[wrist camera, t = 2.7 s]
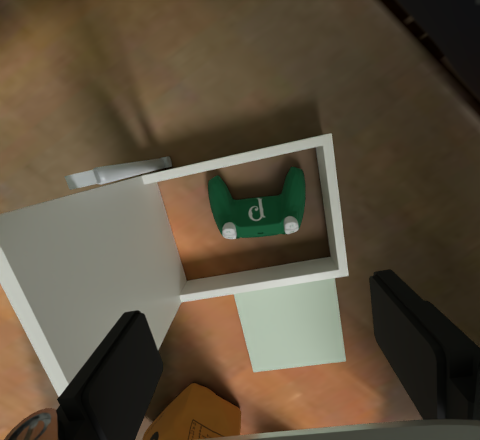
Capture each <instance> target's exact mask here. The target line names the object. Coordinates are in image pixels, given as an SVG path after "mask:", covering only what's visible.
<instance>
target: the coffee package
mask: <svg viewBox="0 0 480 440" xmlns="http://www.w3.org/2000/svg"><path fill="white" fill-rule="evenodd" d="M240 428H241V411H240V409H239V408H238V407H237V406H235V405H233V404H231V403H229V402H228V401H226V400H223V399H222V398H220V397H219V396H217V395H216V394H215V393H214V392H212V391H211V390H210V389H208V388H207V387H203V386H200V385H198V384H196V383H192V384H190V385H189V386H188V387H187V388H186V389H184V390H183V391H182V392H181V393H180V394H179V395H178V396H177V397H176V398H175V399H174V400H173V401H172V402H171V403H170V404H169V405H168V406H167V407H166V408H165V409H164V410H163V412H162V413H161V414H160V415H159V416H158V417H157V418H156V419H155V420H154V422H153V423H152V424H151V425H150V426H149V428H148V429H147V430H146V432H145V434H144V436H143V440H197V439H207V438H218V437H228V436H238V435H240Z"/></svg>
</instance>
